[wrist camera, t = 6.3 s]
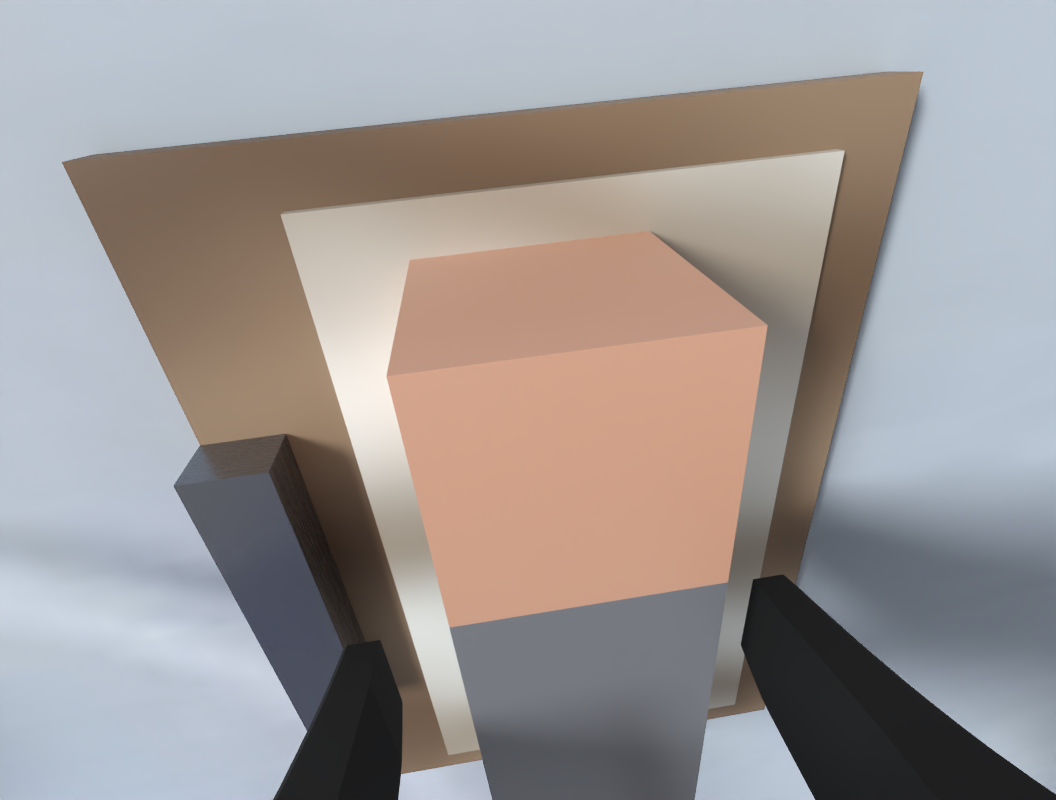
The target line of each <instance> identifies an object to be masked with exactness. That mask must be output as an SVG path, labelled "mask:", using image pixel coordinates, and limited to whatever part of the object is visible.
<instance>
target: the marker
mask: <svg viewBox="0 0 1056 800" xmlns="http://www.w3.org/2000/svg"><path fill="white" fill-rule="evenodd" d="M767 327H768V325H767V324H765V323H764V322H763V321H762V320H760V319H759V318H758V317H757V316H755V315H754V314H753V313H752V312H750V311H749V310H748V309H747V308H745V307H744V306H743V305H742V304H740V303H739V302H738V301H737V300H735V299H734V298H733V297H732V296H730V295H729V294H728V293H726V292H725V291H724V290H723V289H721V288H720V287H719V286H718V285H716V284H715V283H714V282H713V281H711V280H710V279H709V278H708V277H706V276H705V275H704V274H703V273H701V272H700V271H699V270H698V269H696V268H695V267H694V266H693V265H691V264H690V263H689V262H688V261H686V260H685V259H684V258H683V257H681V256H680V255H679V254H678V253H676V252H675V251H674V250H673V249H671V248H670V247H669V246H668V245H666V244H665V243H664V242H663V241H661V240H660V239H659V238H657V237H656V236H655V235H654V234H652V233H651V232H650V231H645V232H637V233H629V234H620V235H612V236H604V237H596V238H587V239H579V240H571V241H562V242H554V243H546V244H537V245H529V246H521V247H513V248H504V249H496V250H488V251H479V252H471V253H463V254H455V255H446V256H438V257H430V258H421V259H413V260H410V261H409V266H408V271H407V276H406V281H405V286H404V291H403V296H402V301H401V306H400V311H399V316H398V321H397V326H396V331H395V336H394V341H393V346H392V351H391V356H390V361H389V365H388V370H387V375H386V377H387V381H388V385H389V389H390V393H391V397H392V401H393V405H394V409H395V413H396V417H397V421H398V425H399V429H400V433H401V437H402V441H403V445H404V449H405V453H406V457H407V461H408V465H409V469H410V473H411V477H412V481H413V485H414V488H415V492H416V496H417V500H418V504H419V508H420V512H421V516H422V520H423V524H424V528H425V532H426V536H427V540H428V544H429V548H430V552H431V556H432V560H433V564H434V568H435V572H436V576H437V580H438V584H439V588H440V592H441V596H442V600H443V604H444V608H445V612H446V616H447V620H448V624H449V628H450V632H451V636H452V640H453V644H454V648H455V652H456V656H457V660H458V664H459V668H460V672H461V676H462V680H463V684H464V688H465V692H466V696H467V700H468V704H469V708H470V712H471V716H472V720H473V724H474V728H475V732H476V736H477V740H478V744H479V748H480V752H481V756H482V760H483V764H484V768H485V772H486V776H487V780H488V784H489V788H490V792H491V796H492V800H694V799H695V793H696V786H697V780H698V773H699V767H700V760H701V754H702V747H703V741H704V734H705V728H706V721H707V715H708V708H709V702H710V695H711V689H712V683H713V676H714V670H715V663H716V657H717V650H718V644H719V637H720V631H721V624H722V618H723V611H724V605H725V598H726V592H727V585H728V579H729V573H730V566H731V560H732V553H733V547H734V540H735V534H736V527H737V521H738V514H739V508H740V501H741V495H742V488H743V482H744V475H745V469H746V463H747V456H748V450H749V443H750V437H751V430H752V424H753V417H754V411H755V404H756V398H757V391H758V385H759V378H760V372H761V365H762V359H763V353H764V346H765V340H766V333H767Z"/></svg>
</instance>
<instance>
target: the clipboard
mask: <svg viewBox="0 0 1056 800" xmlns="http://www.w3.org/2000/svg"><path fill="white" fill-rule="evenodd" d="M922 75H923V72H881V73H871V74H862V75H852V76H842V77H833V78H823V79H814V80H804V81H795V82H785V83H775V84H766V85H756V86H747V87H737V88H728V89H718V90H708V91H699V92H689V93H680V94H670V95H661V96H651V97H641V98H632V99H622V100H613V101H603V102H594V103H584V104H575V105H565V106H555V107H546V108H536V109H527V110H517V111H508V112H498V113H488V114H479V115H469V116H460V117H450V118H441V119H431V120H421V121H412V122H402V123H393V124H383V125H374V126H364V127H354V128H345V129H335V130H326V131H316V132H307V133H297V134H287V135H278V136H268V137H259V138H249V139H240V140H230V141H221V142H211V143H201V144H192V145H182V146H173V147H163V148H154V149H144V150H134V151H125V152H115V153H106V154H96V155H90V156H86V157H82V158H77V159H73V160H69V161H65V162H62V163H63V165H64V168H65V170H66V172H67V174H68V176H69V178H70V180H71V182H72V184H73V186H74V188H75V190H76V192H77V194H78V196H79V198H80V200H81V202H82V204H83V206H84V208H85V211H86V213H87V215H88V217H89V219H90V221H91V223H92V225H93V227H94V229H95V231H96V233H97V235H98V237H99V239H100V241H101V243H102V245H103V247H104V249H105V251H106V253H107V256H108V258H109V260H110V262H111V264H112V266H113V268H114V270H115V272H116V274H117V276H118V278H119V280H120V282H121V284H122V286H123V288H124V290H125V292H126V294H127V296H128V298H129V301H130V303H131V305H132V307H133V309H134V311H135V313H136V315H137V317H138V319H139V321H140V323H141V325H142V327H143V329H144V331H145V333H146V335H147V337H148V339H149V341H150V343H151V346H152V348H153V350H154V352H155V354H156V356H157V358H158V360H159V362H160V364H161V366H162V368H163V370H164V372H165V374H166V376H167V378H168V380H169V382H170V384H171V386H172V389H173V391H174V393H175V395H176V397H177V399H178V401H179V403H180V405H181V407H182V409H183V411H184V413H185V415H186V417H187V419H188V421H189V423H190V425H191V427H192V429H193V431H194V434H195V436H196V438H197V440H198V442H199V444H200V447H199V448H198V450H197V451H196V453H195V454H194V456H193V457H192V459H191V460H190V462H189V463H188V465H187V466H186V468H185V469H184V471H183V472H182V474H181V475H180V477H179V478H178V480H177V481H176V483H175V484H174V488H175V490H176V492H177V493H178V495H179V497H180V499H181V501H182V503H183V504H184V506H185V508H186V510H187V512H188V514H189V515H190V517H191V519H192V521H193V523H194V524H195V526H196V528H197V530H198V532H199V534H200V535H201V537H202V539H203V541H204V543H205V545H206V546H207V548H208V550H209V552H210V554H211V556H212V557H213V559H214V561H215V563H216V565H217V567H218V568H219V570H220V572H221V574H222V576H223V578H224V579H225V581H226V583H227V585H228V587H229V589H230V590H231V592H232V594H233V596H234V598H235V600H236V601H237V603H238V605H239V607H240V609H241V611H242V612H243V614H244V616H245V618H246V620H247V622H248V623H249V625H250V627H251V629H252V631H253V633H254V634H255V636H256V638H257V640H258V642H259V643H260V645H261V647H262V649H263V651H264V653H265V654H266V656H267V658H268V660H269V662H270V664H271V665H272V667H273V669H274V671H275V673H276V675H277V676H278V678H279V680H280V682H281V684H282V686H283V687H284V689H285V691H286V693H287V695H288V697H289V698H290V700H291V702H292V704H293V706H294V708H295V709H296V711H297V713H298V715H299V717H300V719H301V720H302V722H303V724H304V726H305V728H306V730H307V731H308V729H309V727H310V725H311V723H312V720H313V718H314V716H315V714H316V712H317V710H318V707H319V705H320V703H321V701H322V698H323V696H324V694H325V692H326V689H327V687H328V685H329V682H330V680H331V678H332V675H333V673H334V671H335V668H336V666H337V663H338V661H339V658H340V656H341V653H342V651H343V649H344V648H345V647H346V646H347V645H352V644H358V643H364V642H370V641H377V640H380V641H381V643H382V646H383V649H384V652H385V654H386V657H387V660H388V663H389V666H390V668H391V671H392V674H393V677H394V679H395V682H396V685H397V688H398V691H399V693H400V696H401V699H402V702H403V732H402V767H401V774H404V773H410V772H416V771H421V770H427V769H432V768H438V767H444V766H449V765H455V764H460V763H466V762H472V761H477V760H482V756H481V752H480V748H479V744H478V740H477V736H476V732H475V728H474V724H473V720H472V716H471V712H470V708H469V704H468V700H467V696H466V692H465V688H464V684H463V680H462V676H461V672H460V668H459V664H458V660H457V656H456V652H455V648H454V644H453V640H452V636H451V632H450V628H449V624H448V620H447V616H446V612H445V608H444V604H443V600H442V596H441V592H440V588H439V584H438V580H437V576H436V572H435V568H434V564H433V560H432V556H431V552H430V548H429V544H428V540H427V536H426V532H425V528H424V524H423V520H422V516H421V512H420V508H419V504H418V500H417V496H416V492H415V488H414V485H413V481H412V477H411V473H410V469H409V465H408V461H407V457H406V453H405V449H404V445H403V441H402V437H401V433H400V429H399V425H398V421H397V417H396V413H395V409H394V405H393V401H392V397H391V393H390V389H389V385H388V381H387V377H386V375H387V370H388V365H389V361H390V356H391V351H392V346H393V341H394V336H395V331H396V326H397V321H398V316H399V311H400V306H401V301H402V296H403V291H404V286H405V281H406V276H407V271H408V266H409V261H410V260H413V259H421V258H430V257H438V256H446V255H455V254H463V253H471V252H479V251H488V250H496V249H504V248H513V247H521V246H529V245H537V244H546V243H554V242H562V241H571V240H579V239H587V238H596V237H604V236H612V235H620V234H629V233H637V232H645V231H650V232H651V233H652V234H654V235H655V236H656V237H657V238H659V239H660V240H661V241H663V242H664V243H665V244H666V245H668V246H669V247H670V248H671V249H673V250H674V251H675V252H676V253H678V254H679V255H680V256H681V257H683V258H684V259H685V260H686V261H688V262H689V263H690V264H691V265H693V266H694V267H695V268H696V269H698V270H699V271H700V272H701V273H703V274H704V275H705V276H706V277H708V278H709V279H710V280H711V281H713V282H714V283H715V284H716V285H718V286H719V287H720V288H721V289H723V290H724V291H725V292H726V293H728V294H729V295H730V296H732V297H733V298H734V299H735V300H737V301H738V302H739V303H740V304H742V305H743V306H744V307H745V308H747V309H748V310H749V311H750V312H752V313H753V314H754V315H755V316H757V317H758V318H759V319H760V320H762V321H763V322H764V323H765V324H767V325H768V327H767V333H766V340H765V346H764V353H763V359H762V365H761V372H760V378H759V385H758V391H757V398H756V404H755V411H754V417H753V424H752V430H751V437H750V443H749V450H748V456H747V463H746V469H745V475H744V482H743V488H742V495H741V501H740V508H739V514H738V521H737V527H736V534H735V540H734V547H733V553H732V560H731V566H730V573H729V579H728V585H727V592H726V598H725V605H724V611H723V618H722V624H721V631H720V637H719V644H718V650H717V657H716V663H715V670H714V676H713V683H712V689H711V695H710V702H709V708H708V715H707V719H713V718H718V717H724V716H730V715H735V714H741V713H746V712H752V711H758V710H763V709H764V708H765V703H764V701H763V699H762V697H761V695H760V692H759V690H758V687H757V685H756V683H755V680H754V678H753V675H752V673H751V670H750V668H749V665H748V663H747V660H746V657H745V655H744V652H743V650H742V647H741V640H742V635H743V629H744V624H745V619H746V613H747V608H748V603H749V598H750V592H751V587H752V582H753V579H757V578H764V577H770V576H776V575H782V574H783V575H785V576H786V577H787V578H788V579H789V580H791V581H792V582H793V583H794V584H795V583H796V579H797V575H798V571H799V567H800V563H801V559H802V555H803V551H804V547H805V543H806V539H807V535H808V531H809V527H810V523H811V519H812V515H813V511H814V507H815V503H816V499H817V495H818V491H819V487H820V483H821V479H822V475H823V471H824V467H825V463H826V459H827V455H828V451H829V447H830V443H831V439H832V435H833V431H834V427H835V423H836V419H837V415H838V411H839V407H840V403H841V399H842V395H843V391H844V387H845V383H846V379H847V375H848V371H849V367H850V363H851V359H852V355H853V351H854V347H855V343H856V339H857V335H858V331H859V327H860V323H861V319H862V315H863V311H864V307H865V303H866V299H867V295H868V291H869V287H870V283H871V279H872V275H873V271H874V267H875V263H876V259H877V255H878V251H879V247H880V243H881V239H882V235H883V231H884V227H885V223H886V219H887V215H888V211H889V207H890V203H891V199H892V195H893V191H894V187H895V183H896V179H897V175H898V171H899V167H900V163H901V159H902V155H903V151H904V147H905V143H906V139H907V135H908V131H909V127H910V123H911V119H912V115H913V111H914V107H915V103H916V99H917V95H918V91H919V87H920V83H921V79H922Z"/></svg>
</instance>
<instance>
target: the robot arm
mask: <svg viewBox="0 0 1056 800" xmlns="http://www.w3.org/2000/svg"><path fill="white" fill-rule="evenodd" d="M741 647H742V650H743V652H744V655H745V657H746V660H747V663H748V665H749V668H750V670H751V673H752V675H753V678H754V680H755V683H756V685H757V687H758V690H759V692H760V695H761V697H762V699H763V701H764V703H765V705H766V707H767V709H768V711H769V713H770V715H771V717H772V719H773V721H774V723H775V725H776V726H777V728H778V730H779V732H780V734H781V736H782V738H783V740H784V742H785V744H786V745H787V747H788V749H789V751H790V753H791V755H792V757H793V759H794V761H795V762H796V764H797V766H798V768H799V770H800V772H801V774H802V776H803V777H804V779H805V781H806V783H807V785H808V787H809V789H810V791H811V792H812V794H813V796H814V798H815V800H1056V794H1054V793H1053V792H1051V791H1050V790H1048V789H1047V788H1046V787H1044V786H1043V785H1041V784H1040V783H1038V782H1037V781H1035V780H1034V779H1032V778H1031V777H1030V776H1028V775H1027V774H1025V773H1024V772H1023V771H1021V770H1020V769H1018V768H1017V767H1016V766H1014V765H1013V764H1011V763H1010V762H1009V761H1007V760H1006V759H1004V758H1003V757H1002V756H1000V755H999V754H998V753H996V752H995V751H993V750H992V749H991V748H989V747H988V746H987V745H985V744H984V743H983V742H981V741H980V740H979V739H977V738H976V737H975V736H973V735H972V734H971V733H969V732H968V731H967V730H965V729H964V728H963V727H962V726H960V725H959V724H958V723H956V722H955V721H954V720H953V719H951V718H950V717H949V716H947V715H946V714H945V713H944V712H942V711H941V710H940V709H939V708H937V707H936V706H935V705H934V704H932V703H931V702H930V701H928V700H927V699H926V698H925V697H924V696H922V695H921V694H920V693H919V692H917V691H916V690H915V689H914V688H912V687H911V686H910V685H909V684H908V683H906V682H905V681H904V680H903V679H902V678H900V677H899V676H898V675H897V674H896V673H895V672H893V671H892V670H891V669H890V668H889V667H887V666H886V665H885V664H884V663H883V662H882V661H880V660H879V659H878V658H877V657H876V656H874V655H873V654H872V653H871V652H870V651H869V650H867V649H866V648H865V647H864V646H863V645H862V644H861V643H859V642H858V641H857V640H856V639H855V638H854V637H853V636H851V635H850V634H849V633H848V632H847V631H846V630H845V629H844V628H842V627H841V626H840V625H839V624H838V623H837V622H836V621H835V620H834V619H832V618H831V617H830V616H829V615H828V614H827V613H826V612H825V611H824V610H822V609H821V608H820V607H819V606H818V605H817V604H816V603H815V602H814V601H813V600H811V599H810V598H809V597H808V596H807V595H806V594H805V593H804V592H803V591H802V590H801V589H799V588H798V587H797V586H796V585H795V584H794V583H793V582H792V581H791V580H789V579H788V578H787V577H786V576H785V575H783V574H782V575H776V576H770V577H764V578H757V579H753V582H752V587H751V592H750V598H749V603H748V608H747V613H746V619H745V624H744V629H743V635H742V640H741ZM402 732H403V702H402V699H401V696H400V693H399V691H398V688H397V685H396V682H395V679H394V677H393V674H392V671H391V668H390V666H389V663H388V660H387V657H386V654H385V652H384V649H383V646H382V643H381V641H380V640H377V641H370V642H364V643H358V644H352V645H347V646H346V647H345V648H344V649H343V651H342V653H341V656H340V658H339V661H338V663H337V666H336V668H335V671H334V673H333V675H332V678H331V680H330V682H329V685H328V687H327V689H326V692H325V694H324V696H323V698H322V701H321V703H320V705H319V707H318V710H317V712H316V714H315V716H314V718H313V720H312V723H311V725H310V727H309V729H308V731H307V733H306V735H305V737H304V739H303V741H302V743H301V745H300V748H299V750H298V752H297V754H296V756H295V758H294V760H293V762H292V764H291V766H290V768H289V770H288V772H287V774H286V776H285V778H284V780H283V782H282V784H281V786H280V788H279V790H278V792H277V794H276V795H275V797H274V799H273V800H398V795H399V786H400V776H401V767H402Z"/></svg>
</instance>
